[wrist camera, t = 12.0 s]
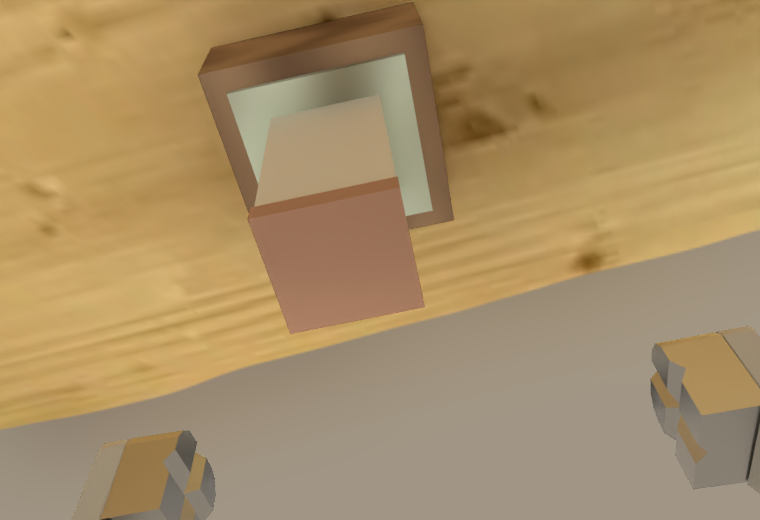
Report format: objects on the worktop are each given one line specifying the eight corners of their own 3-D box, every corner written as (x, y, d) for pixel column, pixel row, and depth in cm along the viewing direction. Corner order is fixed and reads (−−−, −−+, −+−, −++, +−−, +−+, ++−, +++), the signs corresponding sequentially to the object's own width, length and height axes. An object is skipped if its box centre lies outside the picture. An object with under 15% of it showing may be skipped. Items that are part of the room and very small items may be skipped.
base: (412, 2, 31) (423, 26, 27) (442, 183, 37) (454, 223, 33) (211, 48, 32) (196, 77, 28) (271, 220, 37) (265, 262, 34)
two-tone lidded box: (381, 91, 29) (399, 187, 21) (401, 191, 32) (424, 307, 24) (268, 116, 29) (247, 219, 22) (299, 213, 32) (290, 334, 25)
